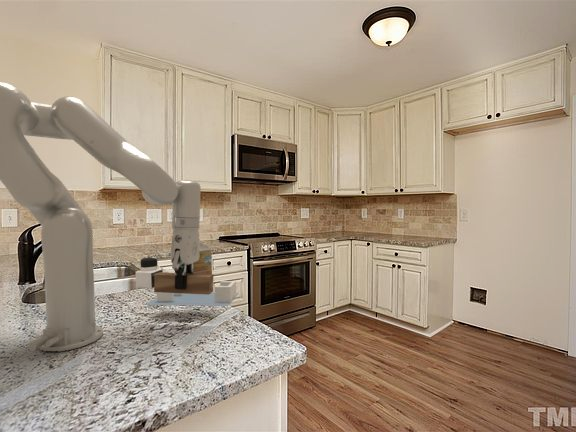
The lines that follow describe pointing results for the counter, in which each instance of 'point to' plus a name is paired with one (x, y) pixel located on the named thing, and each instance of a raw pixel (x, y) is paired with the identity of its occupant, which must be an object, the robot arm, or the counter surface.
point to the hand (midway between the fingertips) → (183, 286)
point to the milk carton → (203, 261)
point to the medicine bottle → (147, 273)
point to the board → (192, 300)
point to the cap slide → (166, 296)
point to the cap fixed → (225, 291)
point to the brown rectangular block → (194, 283)
